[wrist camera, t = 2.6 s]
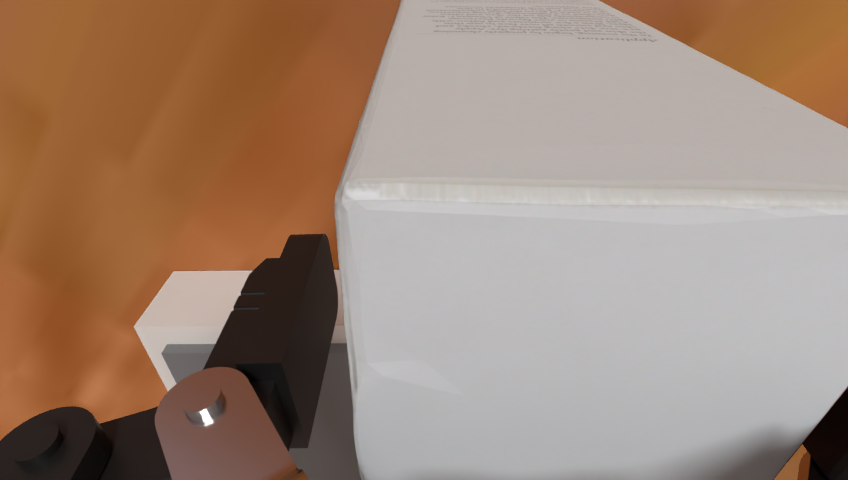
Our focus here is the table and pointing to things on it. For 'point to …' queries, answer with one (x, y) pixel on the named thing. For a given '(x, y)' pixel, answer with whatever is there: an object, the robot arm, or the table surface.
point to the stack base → (197, 335)
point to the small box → (585, 254)
